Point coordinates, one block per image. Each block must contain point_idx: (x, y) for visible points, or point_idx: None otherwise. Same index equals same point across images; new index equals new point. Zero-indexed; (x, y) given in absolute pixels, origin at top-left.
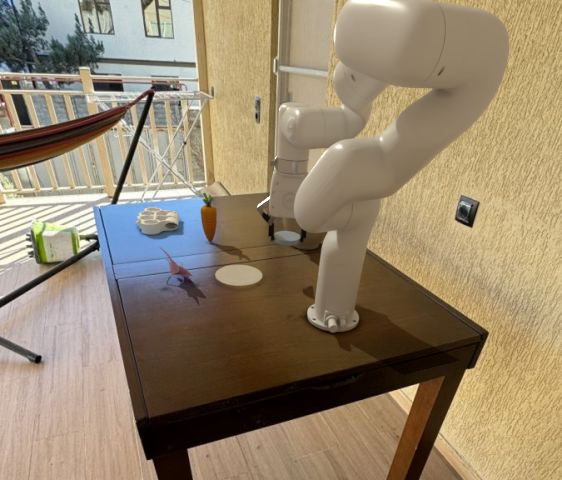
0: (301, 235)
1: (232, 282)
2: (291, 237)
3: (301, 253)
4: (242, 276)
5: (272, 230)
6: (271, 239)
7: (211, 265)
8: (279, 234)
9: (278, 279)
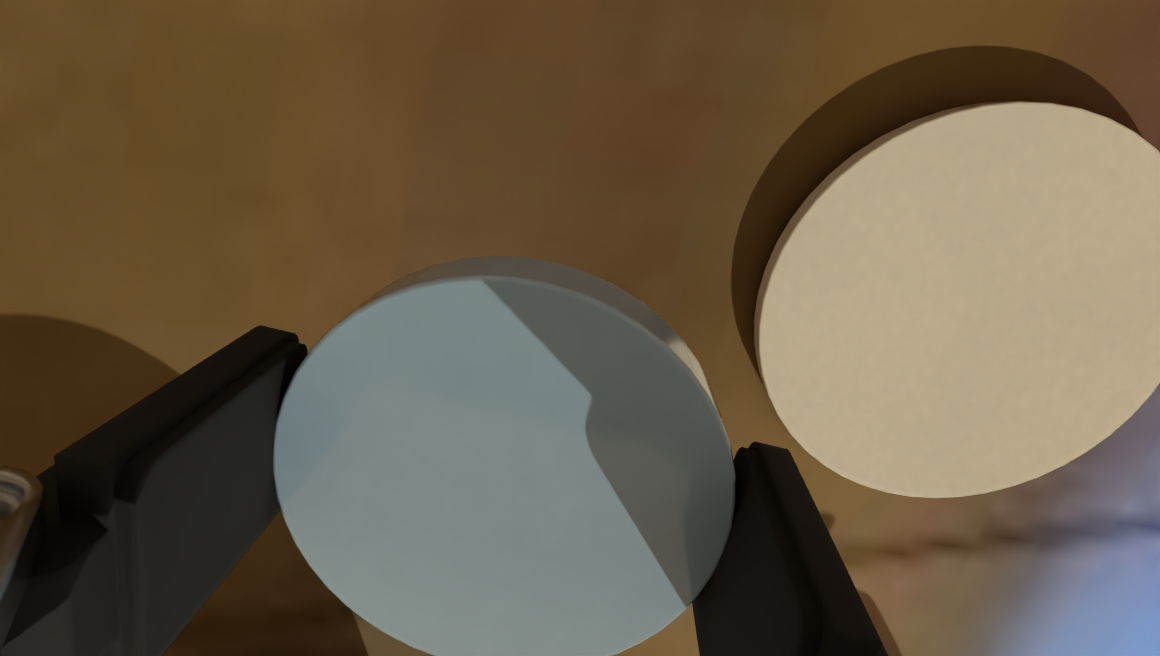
0: (236, 385)
1: (1099, 178)
2: (438, 428)
3: (344, 624)
4: (954, 285)
5: (818, 561)
6: (782, 455)
7: (1074, 549)
8: (616, 562)
9: (622, 251)
